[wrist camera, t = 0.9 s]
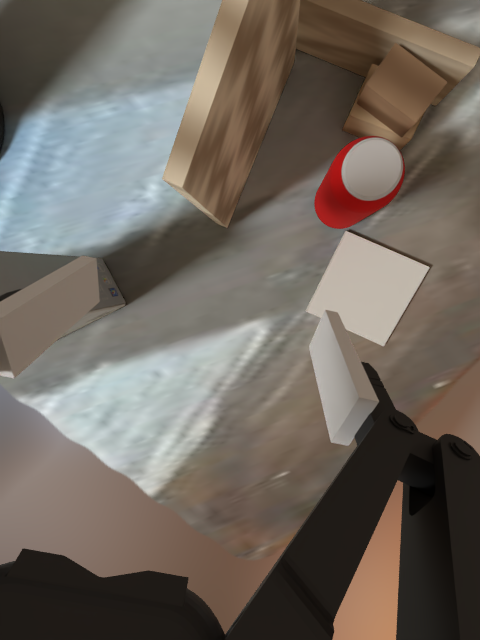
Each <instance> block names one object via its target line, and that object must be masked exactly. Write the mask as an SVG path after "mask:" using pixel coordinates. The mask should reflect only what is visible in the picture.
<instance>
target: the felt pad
mask: <svg viewBox="0 0 480 640" xmlns="http://www.w3.org/2000/svg"><path fill="white" fill-rule="evenodd" d="M429 268H430V267H428V266H426V265H423V264H421V263H419V262H417V261H414V260H412V259H410V258H407V257H405V256H403V255H400V254H398V253H396V252H394V251H391V250H389V249H387V248H384V247H382V246H380V245H378V244H375V243H373V242H371V241H368V240H366V239H364V238H361V237H359V236H357V235H355V234H352V233H350V232H348V231H345V233H344V235H343V237H342V239H341V241H340V243H339V245H338V247H337V249H336V251H335V253H334V255H333V257H332V259H331V261H330V263H329V265H328V267H327V269H326V271H325V273H324V275H323V277H322V279H321V281H320V283H319V285H318V287H317V289H316V291H315V293H314V295H313V297H312V299H311V301H310V303H309V305H308V307H307V309H306V311H307V312H309V313H311V314H313V315H315V316H318V317H320V318H322V316H323V313H324V311H325V310H330V311H334V312H338V314H339V316H340V318H341V320H342V322H343V324H344V327H345V329H347V330H349V331H351V332H353V333H355V334H358V335H360V336H362V337H364V338H366V339H369V340H371V341H373V342H375V343H378V344H380V345H382V346H384V345H385V343H386V342H387V340H388V338H389V336H390V335H391V333H392V331H393V330H394V328H395V326H396V324H397V323H398V321H399V319H400V318H401V316H402V314H403V312H404V311H405V309H406V307H407V306H408V304H409V302H410V300H411V299H412V297H413V295H414V294H415V292H416V290H417V288H418V287H419V285H420V283H421V282H422V280H423V278H424V277H425V275H426V273H427V271H428V270H429Z"/></svg>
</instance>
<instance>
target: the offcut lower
mask: <svg viewBox="0 0 480 640" xmlns="http://www.w3.org/2000/svg"><path fill="white" fill-rule="evenodd" d="M378 67H379V66H377V65H375V64H372V65H371V67H370V69H369V72H368V74H367V76H366V78H365V80H364V82H363V84H362V87H361V89H360V91H359V93H358V95H357V98H356V100H355V102H354V104H353V107H352V109H351V111H350V113H349V116H348V118H347V120H346V122H345V125H344V127H343V129H342V131H345V132H347V133H350V134H352V135H355V136H357V137H360V138H361V137H365V136H379V137H383V138H385V139H388V140H389V141H391V142H392V143H394V144H395V145H396V146H397V148H398V149H399V150H401V149H402V148H403V147H404V146H405V145H406V144H407V143H408V142H409V141H410V140H411V139H412V137H413V135H414V133H415V131H416V129H417V127H418V125H419V123H420V121H421V119H422V117H423V115H424V113H425V112H424V113H423V114H422V116H421V117H420V118H419V119H418V121H417V122H416V123H415V124H414V125H413V126H412V127H411V128H410V130H409V131H408V132H407V133H406V134H405V135H404V136H403V137H402V138H401V137H400V136H399V135H397V134H396V133H395V132H393V131H392V130H391V129H389V128H388V127H387V126H386V125H384V124H383V123H382V122H380V121H379V120H378V119H376V118H375V117H374V116H372V115H371V114H370V113H369V112H367V111H366V110H365V109H363V108H362V107H361V106H359V105H358V104H357V101H358V99H359V97H360V95H361V93H362V91H363V89H364V87H365V85H366V83H367V82H368V81H369V79H370V78H371V76H372V75H373V74H374V72H375V71H376V69H377V68H378ZM425 111H426V110H425Z"/></svg>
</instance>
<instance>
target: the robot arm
mask: <svg viewBox="0 0 480 640" xmlns="http://www.w3.org/2000/svg"><path fill="white" fill-rule="evenodd" d="M3 135H4V120H3V113H2V108H1V105H0V149H1V146H2V142H3ZM99 302H100V299H99V285H98V272H97V259H96V258H92V257H87V256H81V257H79V258H77V259H76V260H74V261H72V262H70V263H68V264H67V265H65V266H63V267H61V268H59V269H58V270H56V271H54V272H52V273H51V274H49V275H47V276H45V277H43V278H42V279H40V280H38V281H36V282H34V283H33V284H31V285H29V286H27V287H26V288H24V289H18V290H15V291H11V292H8V293H5V294H3V295H1V296H0V376H5V377H10V378H15V377H16V376H18V375H19V374H20V373H21V372H22V371H23V370H24V369H25V368H26V367H28V366H29V365H30V364H31V363H32V362H33V361H34V360H35V359H36V358H38V357H39V356H40V355H41V354H42V353H43V352H44V351H45V350H46V349H48V348H49V347H50V346H51V345H52V344H53V343H54V342H55V341H56V340H58V339H59V338H60V337H61V336H62V335H63V334H64V333H65V332H66V331H68V330H69V329H70V328H71V327H72V326H73V325H74V324H75V323H77V322H78V321H79V320H80V319H81V318H82V317H83V316H84V315H85V314H87V313H88V312H89V311H90V310H91V309H92V308H93V307H94V306H95V305H97V304H98V303H99ZM309 349H310V353H311V358H312V362H313V366H314V371H315V375H316V379H317V384H318V388H319V393H320V397H321V401H322V406H323V410H324V414H325V419H326V423H327V427H328V432H329V436H330V440H331V442H332V443H337V444H342V445H347V446H349V444H350V443H351V441H352V440H353V439H354V437H355V439H356V442H357V447H356V449H355V450H354V452H353V453H352V454H351V456H350V457H349V458H348V460H347V462H346V463H345V465H344V466H343V467H342V469H341V470H340V472H339V473H338V475H337V476H336V477H335V479H334V480H333V482H332V483H331V485H330V486H329V487H328V489H327V490H326V492H325V493H324V495H323V496H322V497H321V499H320V500H319V502H318V503H317V505H316V506H315V507H314V509H313V510H312V512H311V513H310V515H309V516H308V517H307V519H306V520H305V522H304V523H303V525H302V526H301V527H300V529H299V530H298V532H297V533H296V535H295V536H294V537H293V539H292V540H291V542H290V543H289V545H288V546H287V547H286V549H285V550H284V552H283V553H282V555H281V556H280V558H279V559H278V561H277V562H276V563H275V565H274V566H273V568H272V569H271V571H270V572H269V573H268V575H267V576H266V578H265V579H264V580H263V582H262V583H261V585H260V586H259V588H258V589H257V590H256V592H255V593H254V595H253V596H252V597H251V599H250V600H249V602H248V603H247V604H246V606H245V607H244V609H243V610H242V611H241V613H240V614H239V616H238V617H237V619H236V620H235V621H234V623H233V625H232V626H231V627H230V629H229V630H228V631H227V633H226V634H224V632H223V630H222V628H221V625H220V624H219V622H218V620H217V618H216V617H215V615H214V613H213V612H212V610H211V609H210V608H209V607H208V605H207V604H206V603H205V602H204V601H203V600H202V599H201V598H200V597H199V596H197V595H196V594H195V593H194V592H192V591H190V590H189V589H187V583H188V577H182V576H176V575H171V574H165V573H159V572H154V571H143V572H137V573H131V574H125V575H118V576H112V577H105V578H102V577H98V576H97V575H95V574H93V573H92V572H90V571H88V570H87V569H85V568H84V567H82V566H80V565H79V564H77V563H75V562H74V561H72V560H70V559H69V558H67V557H65V556H62V555H57V554H51V553H46V552H40V551H34V550H29V549H22V551H21V553H20V555H19V556H18V557H17V559H16V561H13V562H9V563H5V564H2V565H0V640H332V638H333V634H334V627H333V622H334V619H335V616H336V614H337V611H338V609H339V607H340V605H341V602H342V600H343V598H344V596H345V594H346V591H347V589H348V587H349V585H350V583H351V581H352V579H353V576H354V574H355V572H356V570H357V568H358V565H359V563H360V561H361V559H362V556H363V554H364V552H365V550H366V548H367V545H368V544H369V541H370V539H371V537H372V534H373V533H374V530H375V528H376V526H377V524H378V522H379V519H380V517H381V515H382V513H383V511H384V508H385V506H386V504H387V502H388V500H389V497H390V495H391V493H392V491H393V489H394V486H395V484H396V482H397V480H399V481H401V482H403V501H402V524H401V545H400V567H399V589H398V612H397V635H396V640H480V456H479V454H478V453H477V452H476V451H475V450H474V448H473V447H472V446H471V445H469V444H468V443H467V442H466V441H463V440H462V439H461V438H459V437H456V436H454V435H451V434H444V435H442V436H441V437H440V438H439V439H438V440H436V439H434V438H431V437H429V436H427V435H425V434H423V433H420V432H419V431H418V429H417V427H416V425H415V424H414V423H413V421H412V420H411V419H410V418H409V417H407V416H406V415H405V414H403V413H401V412H399V411H397V410H396V409H395V407H394V405H393V403H392V401H391V399H390V397H389V395H388V393H387V391H386V389H385V388H384V385H383V383H382V381H380V378H379V376H378V374H377V372H376V371H375V370H374V368H373V367H372V366H371V365H370V364H369V363H364V362H361V361H360V359H359V357H358V355H357V352H356V350H355V348H354V346H353V344H352V342H351V340H350V337H349V335H348V333H347V331H346V329H345V327H344V324H343V322H342V320H341V318H340V316H339V314H338V312H334V311H330V310H325V311H324V313H323V316H322V318H321V320H320V323H319V325H318V327H317V329H316V332H315V334H314V336H313V339H312V341H311V343H310V346H309Z"/></svg>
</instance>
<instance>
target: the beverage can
mask: <svg viewBox="0 0 480 640" xmlns="http://www.w3.org/2000/svg"><path fill="white" fill-rule="evenodd" d="M404 174H405V165H404V159H403V156H402V154H401V152H400V150H399V149H398V148H397V146H396V145H395V144H394V143H392V142H391V141H389V140H388V139H385V138H383V137H379V136H365V137H361V138H358V139H356V140H354V141H352V142H350V143H349V144H347V145H346V146H345V147H344V148H343V149H342V150H341V151H340V152H339V153H338V154H337V156H336V157H335V159H334V161H333V163H332V164H331V166H330V168H329V170H328V172H327V174H326V176H325V178H324V179H323V181H322V183H321V185H320V187H319V189H318V191H317V193H316V196H315V211H316V214H317V216H318V217H319V219H320V220H321V221H322V222H323V223H324V224H325V225H327V226H329V227H332V228H337V229H341V228H347V227H350V226H352V225H354V224H355V223H357V222H359V221H361V220H362V219H364V218H366V217H367V216H369V215H371V214H373V213H374V212H376V211H378V210H379V209H381V208H383V207H384V206H386V205H387V204H388V203H389V202H390V201H391V200H392V199H393V198H394V197H395V196H396V194H397V193H398V191H399V189H400V188H401V185H402V183H403V179H404Z"/></svg>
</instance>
